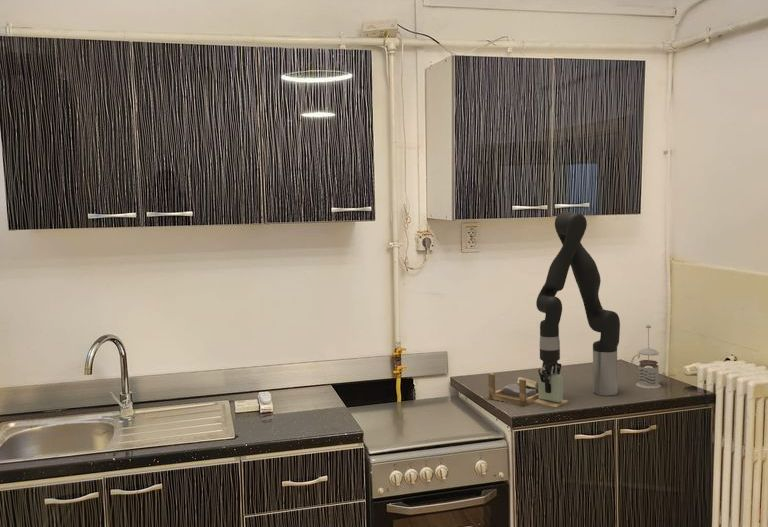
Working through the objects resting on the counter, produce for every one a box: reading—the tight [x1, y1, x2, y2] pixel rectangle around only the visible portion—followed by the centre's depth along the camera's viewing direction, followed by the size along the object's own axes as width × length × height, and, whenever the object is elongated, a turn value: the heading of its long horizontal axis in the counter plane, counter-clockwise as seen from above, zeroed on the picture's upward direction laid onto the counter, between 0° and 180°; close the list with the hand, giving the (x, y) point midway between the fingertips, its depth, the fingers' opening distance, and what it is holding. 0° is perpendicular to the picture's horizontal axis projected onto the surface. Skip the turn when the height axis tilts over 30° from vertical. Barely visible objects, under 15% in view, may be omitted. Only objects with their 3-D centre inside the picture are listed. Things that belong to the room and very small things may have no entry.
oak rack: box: [487, 372, 540, 407], centre depth 276 cm, size 18×16×10 cm
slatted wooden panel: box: [532, 399, 569, 408], centre depth 268 cm, size 9×10×1 cm
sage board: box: [537, 372, 564, 402], centre depth 267 cm, size 3×9×10 cm, turn 46°
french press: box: [630, 324, 662, 389], centre depth 286 cm, size 10×12×25 cm
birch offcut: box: [516, 376, 538, 393], centre depth 283 cm, size 6×8×2 cm
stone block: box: [502, 383, 538, 398], centre depth 279 cm, size 12×5×10 cm
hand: (550, 391), depth 268 cm, fingers closed on sage board, 2 cm apart
